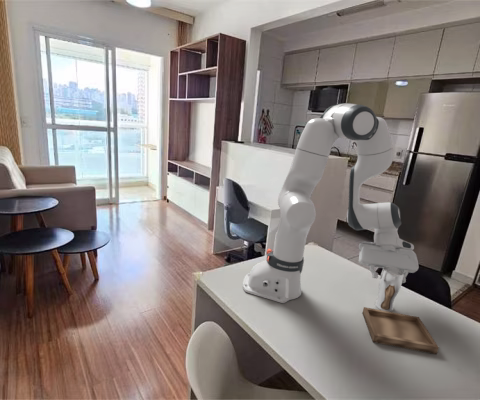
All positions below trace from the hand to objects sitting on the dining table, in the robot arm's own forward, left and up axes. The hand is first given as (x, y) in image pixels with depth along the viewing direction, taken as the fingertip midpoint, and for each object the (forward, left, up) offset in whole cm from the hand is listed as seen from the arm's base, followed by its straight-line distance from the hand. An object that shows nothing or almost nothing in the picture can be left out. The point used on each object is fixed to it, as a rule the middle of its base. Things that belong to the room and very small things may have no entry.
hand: (388, 280), depth 105 cm
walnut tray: (0, -15, -10) cm, 18 cm away
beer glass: (0, -2, -10) cm, 11 cm away
